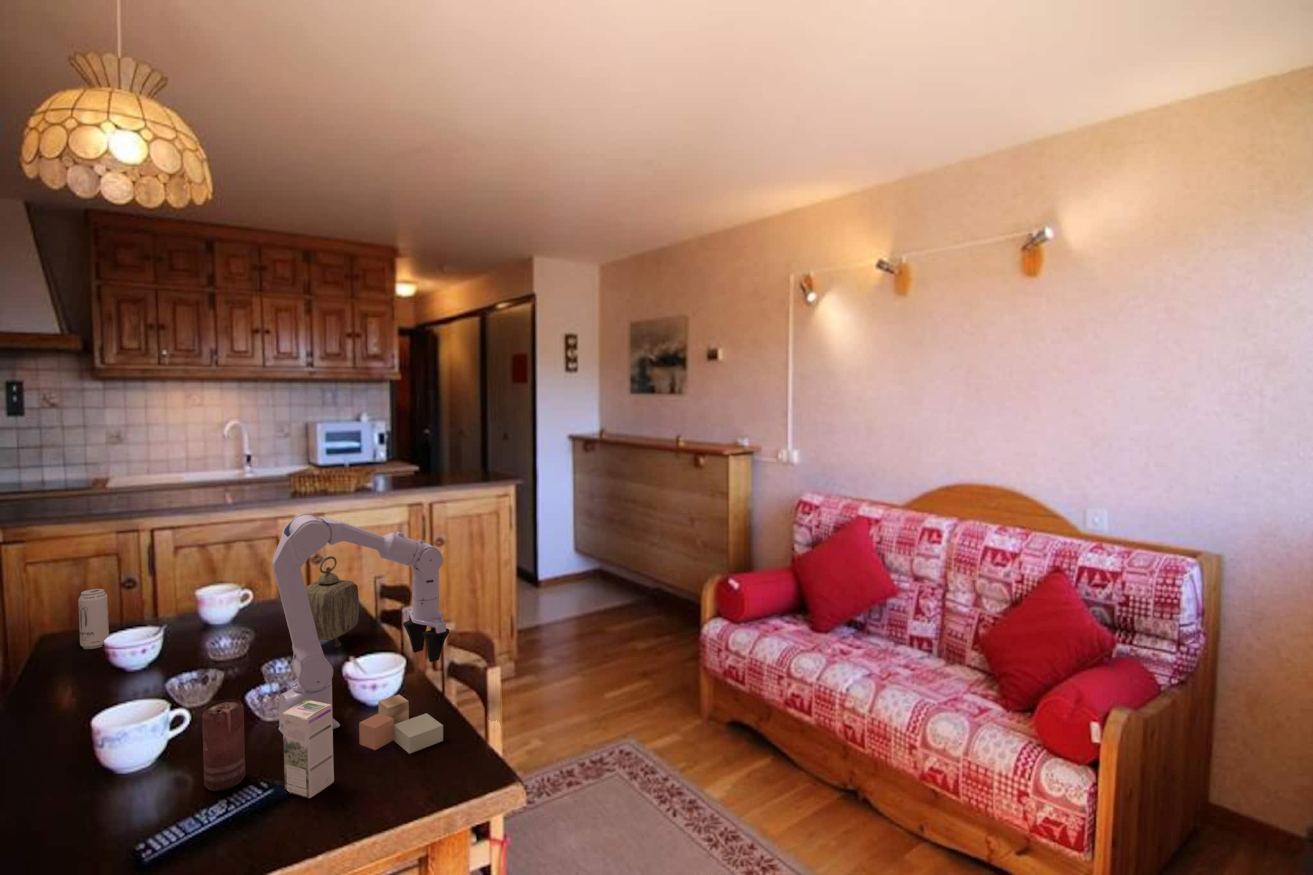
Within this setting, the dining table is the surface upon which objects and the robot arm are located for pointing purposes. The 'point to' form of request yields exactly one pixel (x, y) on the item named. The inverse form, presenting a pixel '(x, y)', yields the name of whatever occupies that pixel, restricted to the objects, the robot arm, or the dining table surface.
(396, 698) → the maple cube
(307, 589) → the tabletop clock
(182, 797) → the dining table surface
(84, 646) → the energy drink can
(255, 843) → the dining table surface
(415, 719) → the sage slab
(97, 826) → the dining table surface
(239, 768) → the can
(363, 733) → the terracotta cube
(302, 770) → the syrup box
